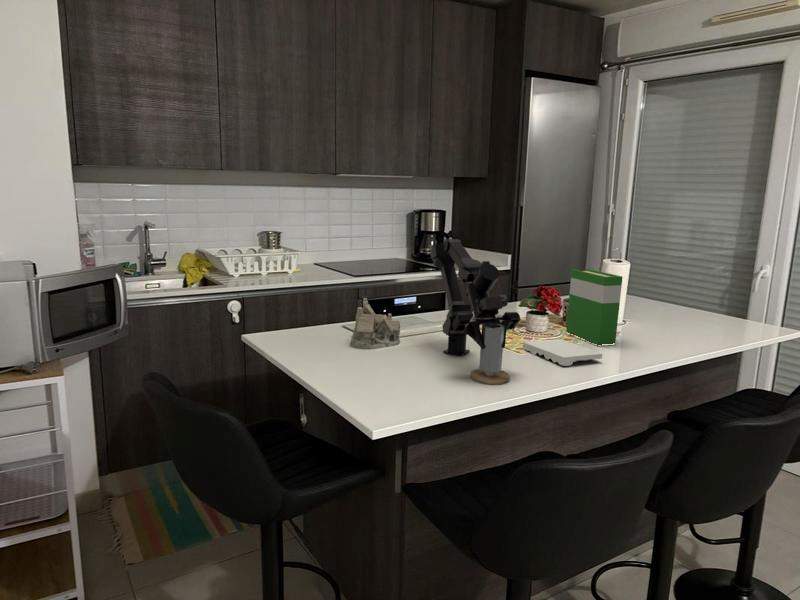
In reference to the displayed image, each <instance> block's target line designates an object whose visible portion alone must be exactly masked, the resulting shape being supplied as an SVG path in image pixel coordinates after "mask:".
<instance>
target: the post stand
mask: <svg viewBox="0 0 800 600" xmlns="http://www.w3.org/2000/svg"><path fill="white" fill-rule="evenodd" d="M469 379H471V380H472V381H474V382H475V383H479V384H483V385H489V386H495V385H496V386H497V385H498V386H499V385H505V384H508V383H509V382H510V381H511V375H510V373H507V372H506V371H503V370H501V371H499V372H495V373H489V372H484V371H482V370H480V369H479V368H477V369H473V370H471V371H470V373H469Z"/></svg>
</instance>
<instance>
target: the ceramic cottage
mask: <svg viewBox="0 0 800 600" xmlns="http://www.w3.org/2000/svg"><path fill="white" fill-rule="evenodd" d="M392 315H393V314H392V313H388V314H387V315H386V314H376V313H375V311H374V310H373V308H372V307H371V305H370V304H369V301H368V298H367V297H363V301H362V307H360V306H359V307H357V309H356V314H355V326H354V327H353V332H352V335H351V336H350V337H351V338H350V343H349V346H350V348H353V349H359V350H374V349H382V348H388V347H395V346H398V345H399V344H400V343H401V339H400V334H401V325H400V322H401V321H399V320H394V319H393V317H392Z"/></svg>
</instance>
